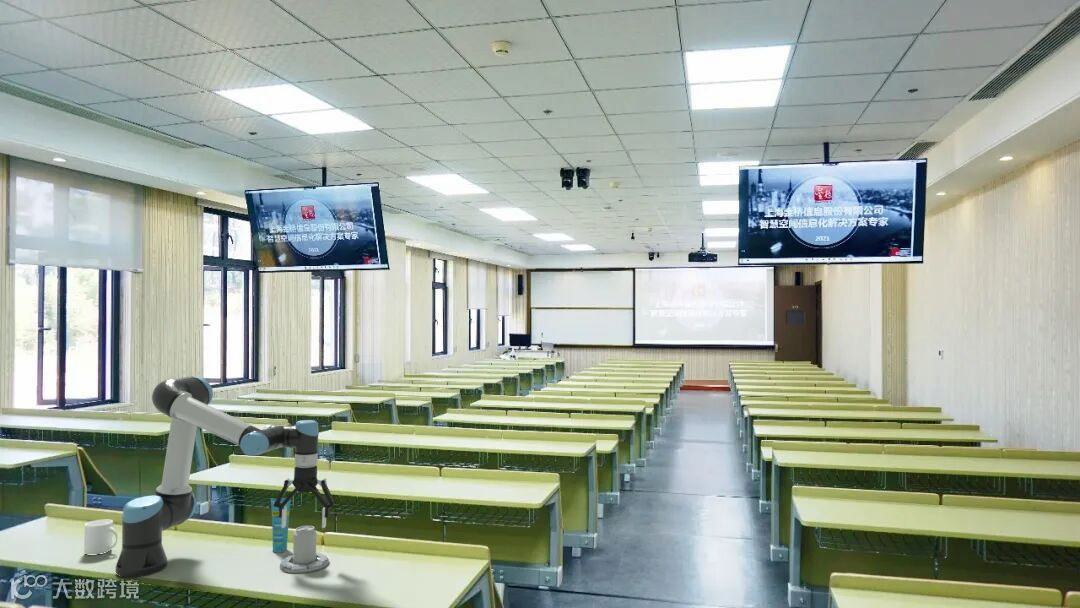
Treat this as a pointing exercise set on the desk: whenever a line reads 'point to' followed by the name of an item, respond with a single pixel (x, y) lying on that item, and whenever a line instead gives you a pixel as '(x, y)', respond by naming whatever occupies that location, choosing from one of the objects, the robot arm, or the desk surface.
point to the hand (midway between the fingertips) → (303, 527)
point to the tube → (279, 527)
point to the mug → (99, 536)
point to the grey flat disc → (304, 565)
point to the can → (304, 545)
